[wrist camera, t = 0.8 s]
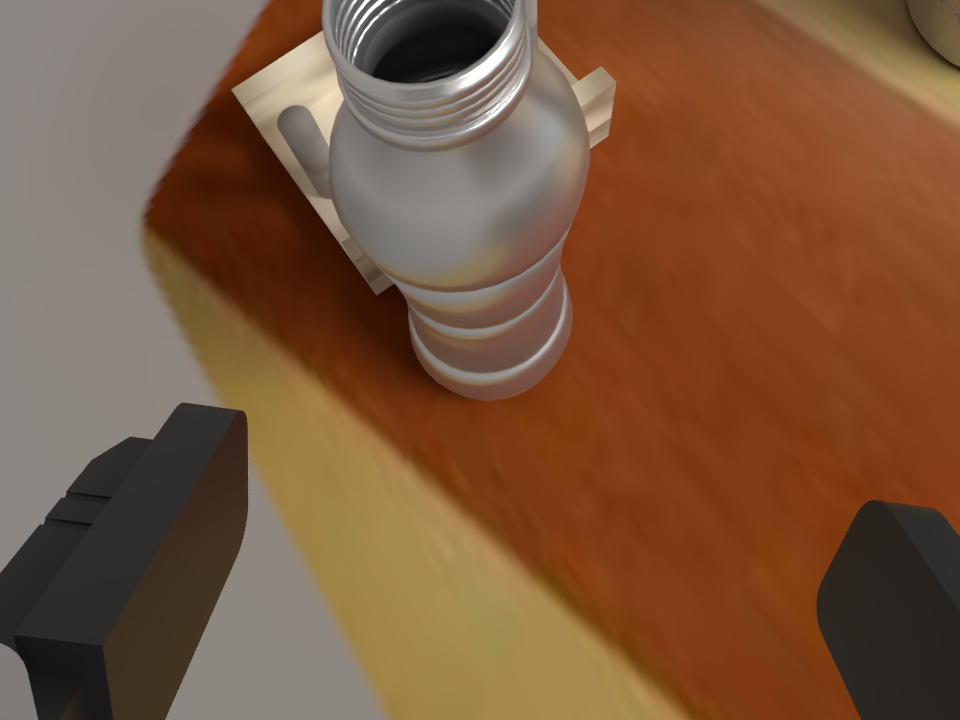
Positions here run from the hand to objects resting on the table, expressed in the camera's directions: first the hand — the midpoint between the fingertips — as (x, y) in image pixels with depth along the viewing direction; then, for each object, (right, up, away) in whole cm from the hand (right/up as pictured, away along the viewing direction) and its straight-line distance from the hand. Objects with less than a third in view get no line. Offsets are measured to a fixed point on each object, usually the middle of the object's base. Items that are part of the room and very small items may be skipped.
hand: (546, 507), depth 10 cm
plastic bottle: (0, +3, +23) cm, 23 cm away
